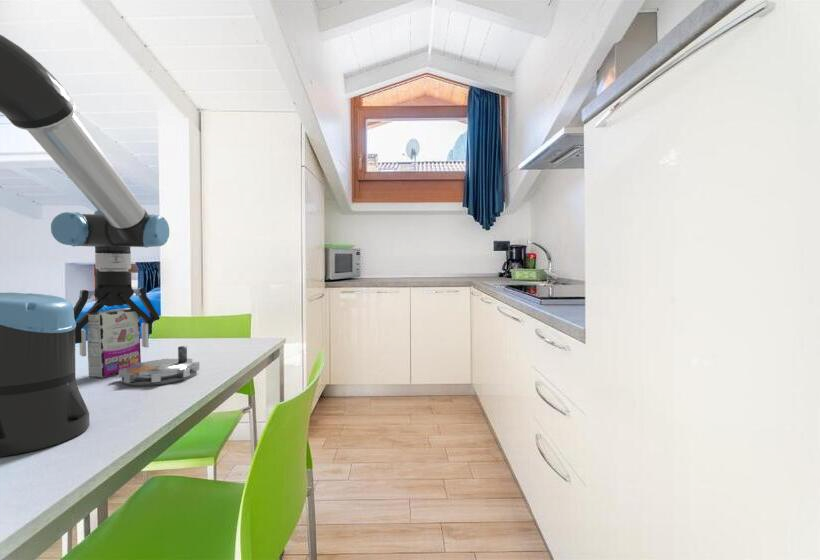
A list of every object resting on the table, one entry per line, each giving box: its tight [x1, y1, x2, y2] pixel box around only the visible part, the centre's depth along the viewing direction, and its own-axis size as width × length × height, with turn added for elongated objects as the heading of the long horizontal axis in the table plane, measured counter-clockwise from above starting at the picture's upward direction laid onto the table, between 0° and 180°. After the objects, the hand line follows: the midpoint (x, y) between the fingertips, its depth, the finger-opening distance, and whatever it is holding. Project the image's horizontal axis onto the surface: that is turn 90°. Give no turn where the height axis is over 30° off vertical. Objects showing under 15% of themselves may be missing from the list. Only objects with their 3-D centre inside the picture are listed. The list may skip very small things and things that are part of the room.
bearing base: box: [121, 370, 198, 387], centre depth 101 cm, size 16×16×1 cm
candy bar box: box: [85, 307, 142, 379], centre depth 105 cm, size 11×5×16 cm, turn 168°
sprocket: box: [118, 345, 200, 383], centre depth 101 cm, size 17×17×6 cm
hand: (115, 351), depth 105 cm, fingers open, 13 cm apart
